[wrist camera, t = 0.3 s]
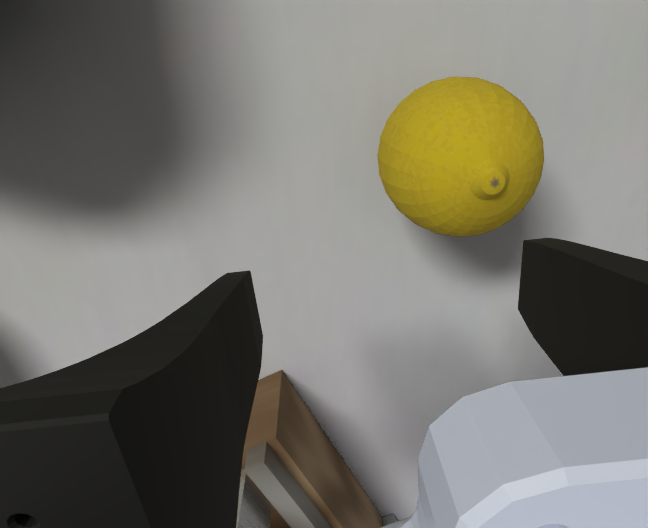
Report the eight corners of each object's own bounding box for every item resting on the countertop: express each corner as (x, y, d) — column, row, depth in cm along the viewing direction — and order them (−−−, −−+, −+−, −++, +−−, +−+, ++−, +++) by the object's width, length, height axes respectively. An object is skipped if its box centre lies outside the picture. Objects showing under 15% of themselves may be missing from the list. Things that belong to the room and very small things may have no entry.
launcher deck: (382, 517, 30) (398, 621, 25) (279, 555, 32) (273, 661, 26) (281, 369, 25) (273, 458, 20) (163, 422, 26) (123, 519, 21)
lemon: (498, 177, 21) (598, 238, 14) (384, 214, 22) (424, 291, 14) (476, 54, 19) (581, 48, 12) (350, 99, 19) (376, 121, 12)
